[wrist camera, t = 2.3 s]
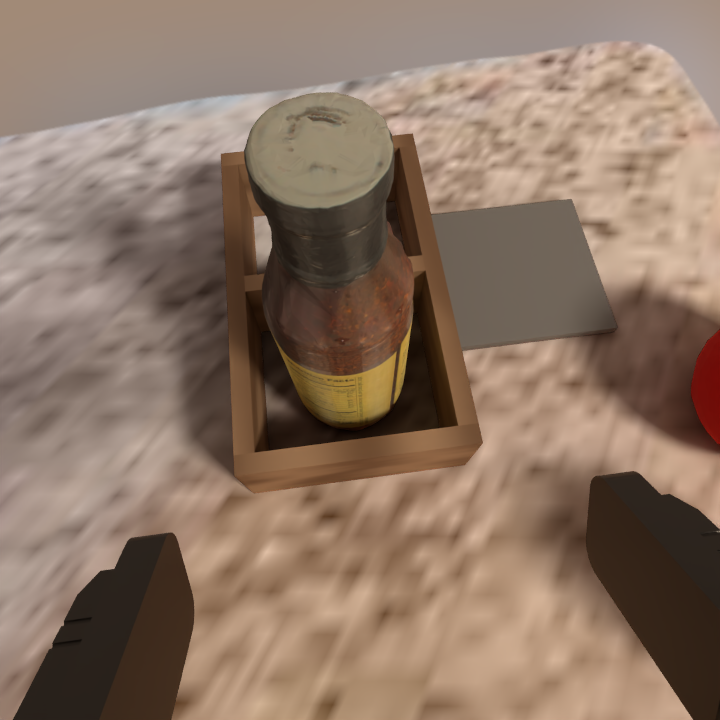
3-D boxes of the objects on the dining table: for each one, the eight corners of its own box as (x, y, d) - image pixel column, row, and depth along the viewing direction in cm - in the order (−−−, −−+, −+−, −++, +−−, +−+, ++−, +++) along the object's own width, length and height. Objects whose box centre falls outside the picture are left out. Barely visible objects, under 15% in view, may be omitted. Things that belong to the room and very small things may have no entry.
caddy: (254, 493, 30) (234, 475, 26) (238, 206, 38) (220, 153, 33) (465, 465, 31) (482, 443, 26) (406, 188, 38) (412, 133, 34)
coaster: (457, 351, 33) (458, 347, 33) (428, 220, 37) (429, 215, 37) (613, 331, 34) (617, 327, 33) (568, 204, 38) (571, 199, 37)
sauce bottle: (345, 321, 34) (325, 15, 16) (422, 381, 33) (497, 117, 14) (273, 395, 32) (157, 143, 14) (351, 462, 31) (334, 277, 12)
